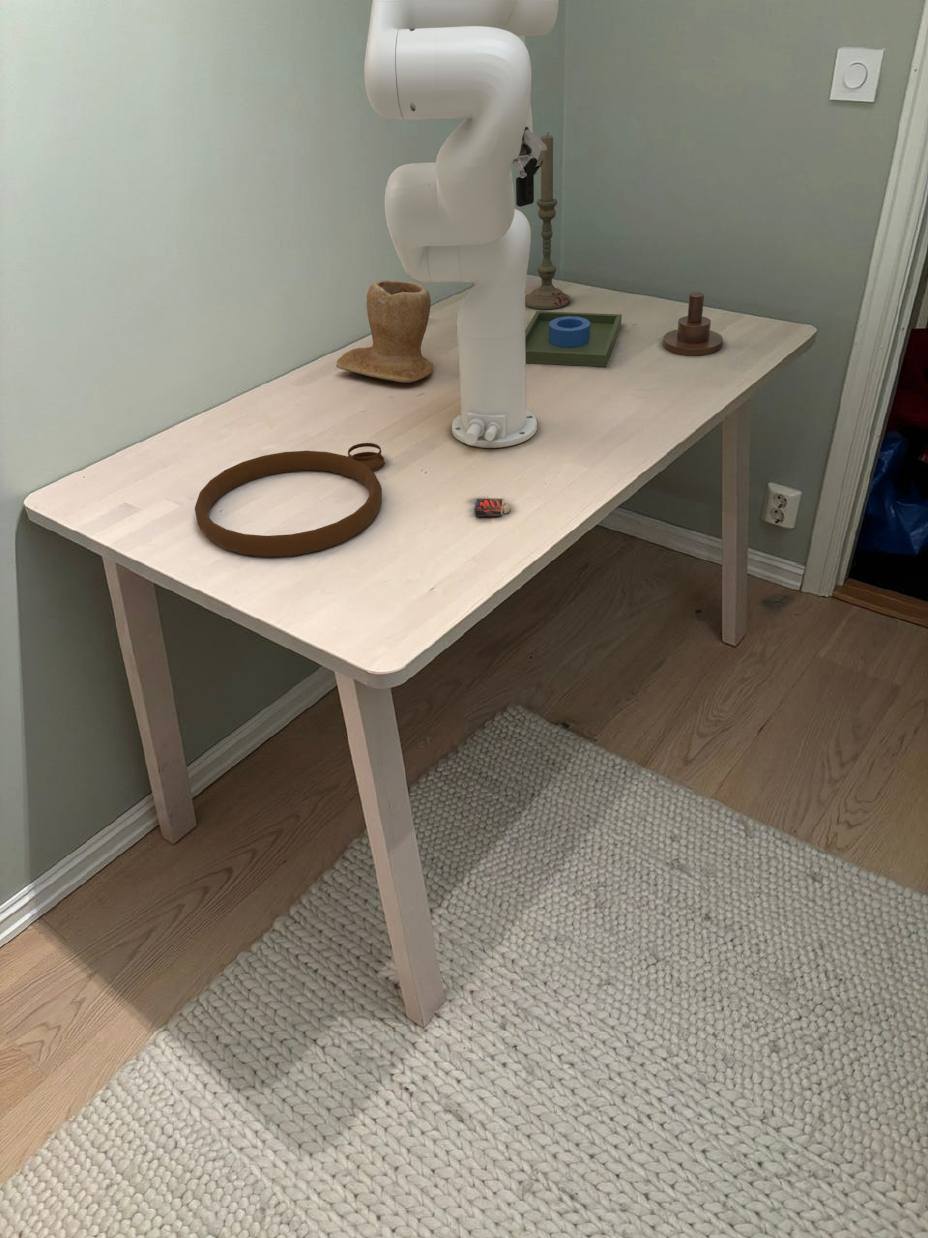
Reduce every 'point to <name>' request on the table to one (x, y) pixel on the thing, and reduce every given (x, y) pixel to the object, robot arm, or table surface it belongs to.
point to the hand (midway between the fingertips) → (501, 200)
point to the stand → (693, 332)
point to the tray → (587, 355)
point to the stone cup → (393, 333)
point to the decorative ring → (348, 466)
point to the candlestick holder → (547, 239)
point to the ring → (569, 331)
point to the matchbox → (490, 506)
